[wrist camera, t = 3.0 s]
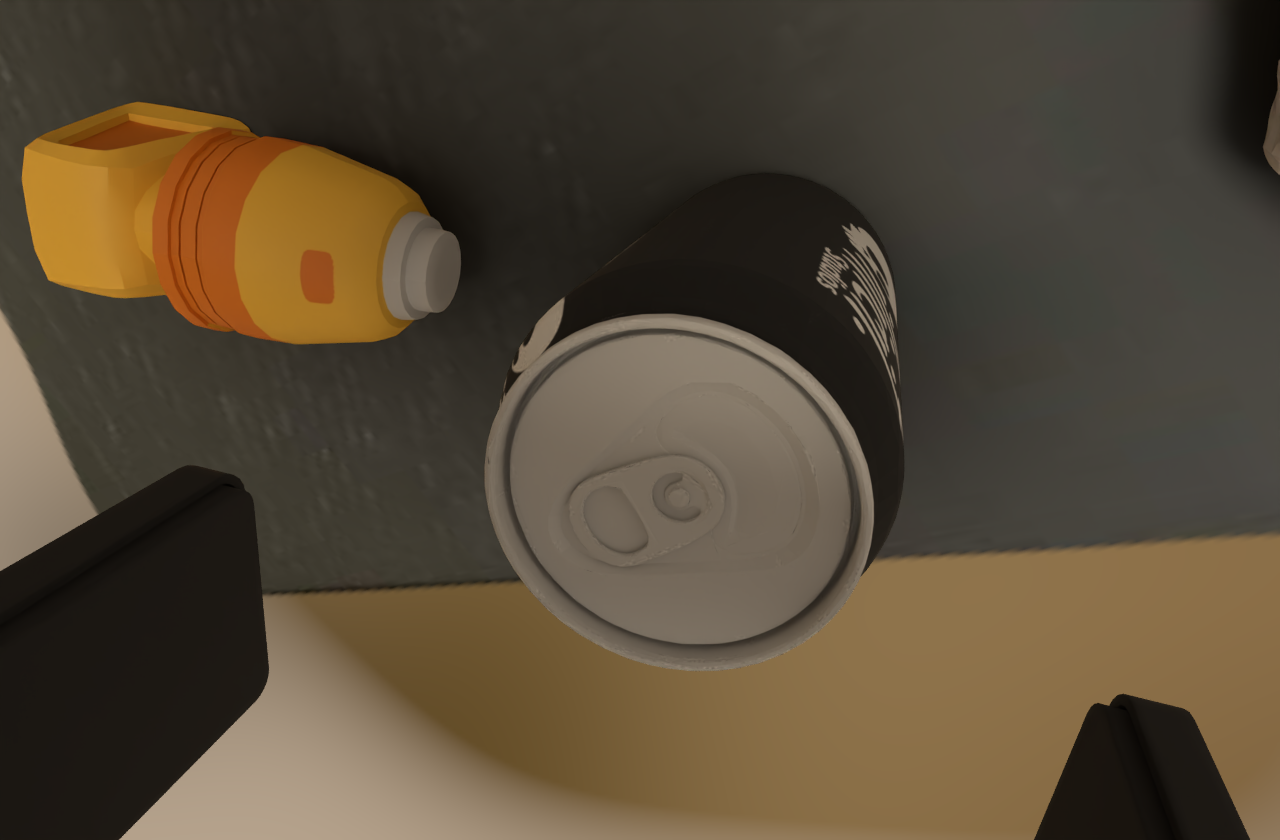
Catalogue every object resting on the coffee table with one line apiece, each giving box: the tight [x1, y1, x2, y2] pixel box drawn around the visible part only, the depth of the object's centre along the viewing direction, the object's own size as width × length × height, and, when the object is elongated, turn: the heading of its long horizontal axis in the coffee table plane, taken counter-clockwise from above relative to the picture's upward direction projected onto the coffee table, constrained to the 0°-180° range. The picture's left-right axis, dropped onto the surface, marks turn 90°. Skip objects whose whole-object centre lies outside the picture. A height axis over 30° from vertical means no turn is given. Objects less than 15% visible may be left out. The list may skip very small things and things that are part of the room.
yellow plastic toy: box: [22, 102, 461, 344], centre depth 23 cm, size 5×6×12 cm
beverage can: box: [485, 174, 904, 671], centre depth 18 cm, size 7×7×12 cm
